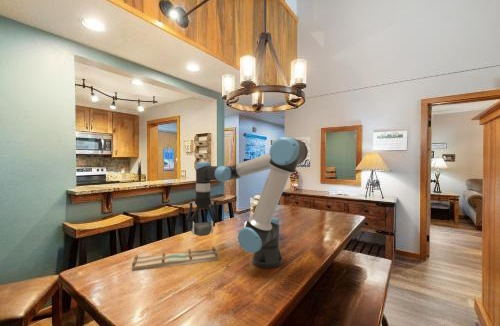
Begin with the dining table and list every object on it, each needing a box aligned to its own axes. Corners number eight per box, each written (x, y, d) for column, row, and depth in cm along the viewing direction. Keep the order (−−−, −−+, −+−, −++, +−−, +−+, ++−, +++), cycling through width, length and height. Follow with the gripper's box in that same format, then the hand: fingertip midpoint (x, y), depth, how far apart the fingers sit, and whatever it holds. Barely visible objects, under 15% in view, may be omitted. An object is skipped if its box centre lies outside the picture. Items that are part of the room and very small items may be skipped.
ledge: (217, 260, 122) (217, 253, 122) (132, 271, 109) (132, 263, 109) (214, 252, 132) (214, 246, 132) (135, 261, 120) (135, 254, 120)
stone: (204, 229, 135) (207, 215, 131) (210, 240, 128) (214, 226, 125) (189, 232, 130) (192, 218, 126) (194, 244, 123) (198, 229, 119)
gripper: (221, 189, 132) (221, 229, 132) (181, 190, 125) (181, 233, 125) (224, 191, 125) (224, 233, 125) (181, 192, 118) (181, 237, 118)
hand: (202, 233), depth 125 cm, fingers closed on stone, 9 cm apart
